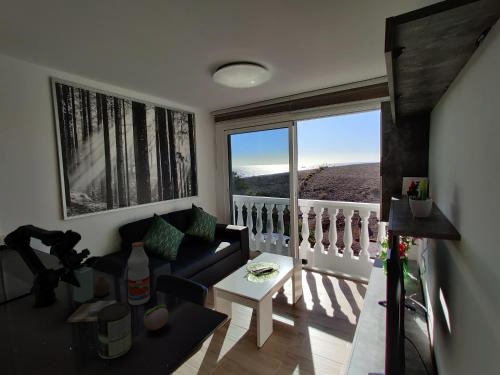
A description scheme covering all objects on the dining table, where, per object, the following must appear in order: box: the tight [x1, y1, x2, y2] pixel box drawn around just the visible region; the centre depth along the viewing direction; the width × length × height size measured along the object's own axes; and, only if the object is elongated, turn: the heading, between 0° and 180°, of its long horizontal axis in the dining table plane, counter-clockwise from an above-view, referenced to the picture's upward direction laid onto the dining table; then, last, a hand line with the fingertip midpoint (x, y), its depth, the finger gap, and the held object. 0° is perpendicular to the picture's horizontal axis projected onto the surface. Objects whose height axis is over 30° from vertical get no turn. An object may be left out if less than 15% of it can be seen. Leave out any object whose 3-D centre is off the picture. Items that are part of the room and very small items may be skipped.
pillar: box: [72, 267, 94, 304], centre depth 108 cm, size 5×5×14 cm
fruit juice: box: [127, 241, 151, 306], centre depth 119 cm, size 9×9×28 cm
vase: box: [93, 276, 111, 298], centre depth 124 cm, size 7×7×9 cm
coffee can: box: [97, 302, 132, 360], centre depth 88 cm, size 10×10×14 cm
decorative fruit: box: [143, 304, 169, 331], centre depth 98 cm, size 9×8×10 cm
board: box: [66, 299, 119, 323], centre depth 109 cm, size 16×12×4 cm
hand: (85, 284), depth 107 cm, fingers closed on pillar, 5 cm apart
